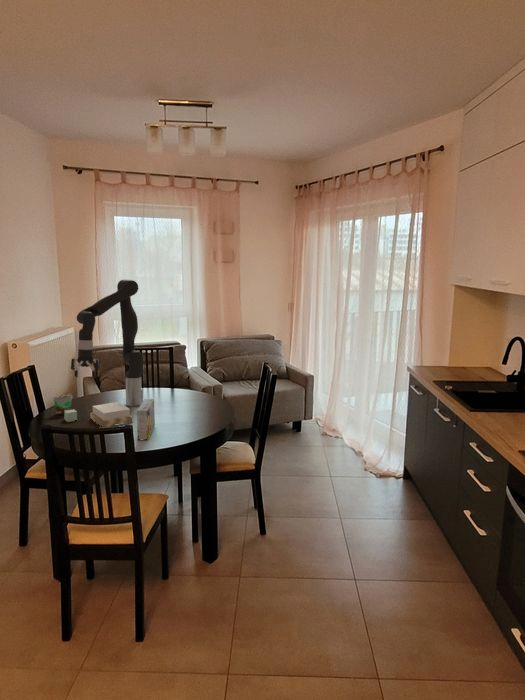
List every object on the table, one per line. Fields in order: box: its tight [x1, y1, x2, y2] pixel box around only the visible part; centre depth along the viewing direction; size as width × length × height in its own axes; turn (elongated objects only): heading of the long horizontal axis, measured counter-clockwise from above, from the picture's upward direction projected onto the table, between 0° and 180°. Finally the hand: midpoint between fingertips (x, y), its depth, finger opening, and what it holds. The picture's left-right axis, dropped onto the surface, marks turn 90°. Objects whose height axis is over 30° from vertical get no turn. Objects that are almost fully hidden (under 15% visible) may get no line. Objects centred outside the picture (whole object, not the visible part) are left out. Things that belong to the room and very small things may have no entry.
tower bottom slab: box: [89, 412, 133, 428], centre depth 242 cm, size 16×18×4 cm
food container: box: [53, 392, 73, 415], centre depth 253 cm, size 12×6×10 cm, turn 168°
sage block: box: [63, 408, 78, 423], centre depth 241 cm, size 5×5×5 cm
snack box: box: [136, 398, 156, 440], centre depth 224 cm, size 21×6×15 cm, turn 5°
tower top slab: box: [92, 401, 131, 421], centre depth 242 cm, size 14×16×4 cm
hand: (85, 377), depth 247 cm, fingers open, 8 cm apart
